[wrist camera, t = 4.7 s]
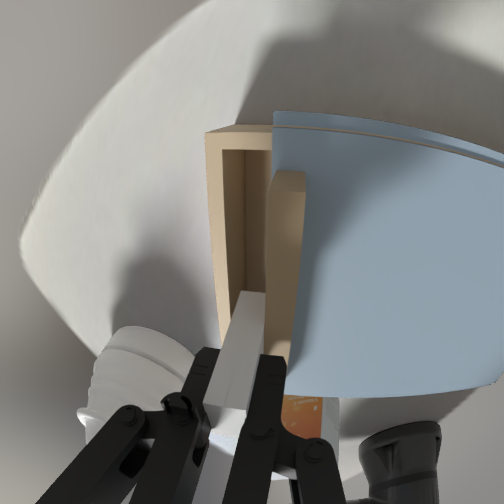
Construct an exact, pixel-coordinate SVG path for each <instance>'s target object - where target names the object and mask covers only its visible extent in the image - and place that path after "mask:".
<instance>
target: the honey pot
mask: <svg viewBox="0 0 504 504" xmlns="http://www.w3.org/2000/svg"><path fill="white" fill-rule="evenodd" d="M194 358H195V356H194V355H193V354H192V353H191V352H190V351H189V350H188V349H186V348H185V347H184V346H182V345H181V344H180V343H178V342H177V341H175V340H173V339H172V338H170V337H168V336H166V335H164V334H163V333H160V332H157V331H155V330H152V329H149V328H145V327H140V326H125V327H122V328H120V329H118V330H117V331H116V332H115V333H114V335H113V336H112V338H111V339H110V340H109V342H108V343H107V345H106V346H105V348H104V349H103V351H102V353H101V354H100V355H99V358H98V359H97V360H96V361H95V364H94V375H93V376H92V378H91V387H90V388H89V389H88V396H89V399H88V405H87V408H83V407H82V408H80V409H78V410H77V416H78V418H79V420H80V421H81V423H82V424H84V426H85V427H86V445H87V444H88V443H89V442H90V441H91V439H92V438H93V437H94V436H95V435H96V434H97V433H98V431H99V430H100V429H101V428H102V427H103V426H104V425H105V423H106V422H107V421H108V420H109V419H110V418H111V416H112V415H113V414H114V413H115V412H116V411H117V410H118V409H119V408H120V407H122V406H125V405H135V406H138V407H140V408H141V409H142V410H143V411H161V410H164V409H163V407H162V405H161V403H160V402H161V400H162V399H163V397H165V396H166V395H168V394H170V393H174V392H181V390H182V387H183V385H184V382H185V380H186V378H187V375H188V373H189V370H190V368H191V366H192V363H193V361H194Z"/></svg>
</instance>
